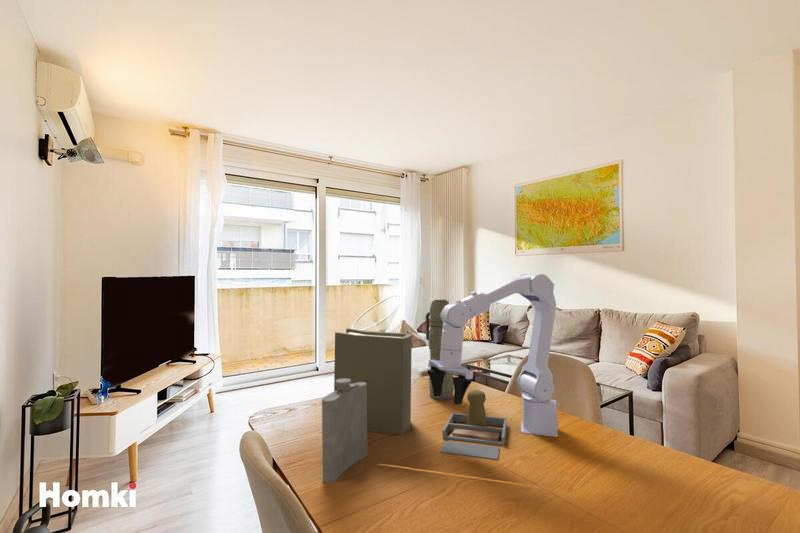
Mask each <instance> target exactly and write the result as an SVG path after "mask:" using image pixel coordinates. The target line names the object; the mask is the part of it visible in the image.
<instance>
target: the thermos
mask: <svg viewBox="0 0 800 533" xmlns="http://www.w3.org/2000/svg"><path fill="white" fill-rule="evenodd" d="M448 304H450V302H449V300H447V299H434V300H431V303H430V306H429V312H426V314H425V338H426V341H428V349H429V360H437V361H440V352H441V340H442V330H443V321H442V320H441V317H440V313H442V310H443V309H444V307H445V306H446V305H448ZM429 369H431V367H429ZM453 375H454V374H452V373H449V372H446V373H445V376H444V379H443V384H442V392H441V396H436V397H435V396H434V394H433V387H432V383H431V379H430V377H429V376H428V377H429V378H428V387H429V388H428V389H429V398H430V399H433V400H437V401H438V400H439V401H445V400H451V399H454V383H453V377H454V376H453Z"/></svg>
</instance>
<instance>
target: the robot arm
mask: <svg viewBox="0 0 800 533" xmlns="http://www.w3.org/2000/svg"><path fill="white" fill-rule="evenodd" d="M554 288H555V283H554V282H553V281H552V280H551V278H549V277H548V276H547V275H546V274H544V273H540V274H526V273H525V274H524V273H523V274H520V275H518V276H515V277H514V276H513V277H512V278H511V279H509V280H507V281H505V282H504V283H501V284H499V285H497V286H496V287H495V288H492V289H490V290H489V291H487V292H485V293H484V292H482V291H475V290H474V291H472V292H470V295H469V296H467V297H464V298H462V299H457V300H455V304H454V303H449V304H448V305H446V306H445V307H444V309H443V310H442V313H440V317H441V320H442V321H443V330H442V340H441V352H440V361H437V360H430V359H429V360H428V368H429V369H427V372H426V373H427V375H428V377H430V379H431V383H432V387H433V394H434V396H435V397H436V396H441V392H442V384H443V379H444V376H445V373H446V372H449V373H452V375H455V376H453V383H454V390H453V403H454V405H456V406H458V405H462V403H463V400H464V397H465V394H466V392H467V391H468V388H469V387H470V385H471V383H472V382H473V379H474V370H470V369H468V368H466V367H464V366H462V355H463V342H464V330H465V328H464V327H465V326H466V325H467V323H468V321H469V320H471V319H474V318H475V317H477V316H480V315H482V314H484V313H486V312H488V311H489V310H490V308H491V304H494V303H496V302H499V301H500V300H504V299H505V298H507V297H510V296H512V295H514V294H518V295H520V297H521V296H522V297H523V298H525V299H526V300H528V302H530V304H531V305H532V306H533V307H534V316H533V323H532V330H531V335H530V336H531V337H530V342H529V349H528V358H527V362H526V363H524V364H523V365H522V366H521V371H520V374H519V375H518V377H517V380H516V384H517V385H516V386H517V387H518V389H519V390H520V392H521V394H520V395H521V408H522V409H521V411H522V414H521V416H522V418H521V419H522V421H521V423H520V424H521V425H520V433H522V434H528V435H537V436H548V437H558V436H559V435H558V428H559V421H558V404H557V400H556V399H552V397H553V396H554V393H555V386H554V383H553V382H554V380H553V379H554V375H553V373H552V371H551V369H550V367H549V359H550V352H551V346H552V340H553V339H552V338H553V329H554V323H555V316H556V309H557V301H556V298H555V294H554ZM430 367H431V369H430Z"/></svg>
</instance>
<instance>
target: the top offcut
mask: <svg viewBox="0 0 800 533" xmlns="http://www.w3.org/2000/svg"><path fill="white" fill-rule="evenodd" d="M452 436H455V437H464V438H472V439H481V440H489V441H499V442H500V437H499V433H493V432H484V431H476V430H468V429H460V428H455V429H454V431H453V433H452Z"/></svg>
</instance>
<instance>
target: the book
mask: <svg viewBox="0 0 800 533" xmlns="http://www.w3.org/2000/svg"><path fill="white" fill-rule="evenodd" d="M345 331H346V332H340V331H335V332H334V370H333V371H334V372H333V373H334V374H333V375H334V376H333V378H334V380H333V392H334V391H336V390H337V389H336V388H337V385H336V380H337V379H343V378H346V379H351V384H353V383H357V382H365V383H366V384H367V432H374V433H375V432H376V433H383V434H388V435H394V436H398V435H403V434H405V433H407V432H408V431H409V429H410V428H411V426H412V424H411V423H412V422H411V420H412V416H411V415H412V414H411V413H412V406H411V405H412V398H411V397H412V338H413V336H412V335H413V334H412V333H410V332H409V333H407V332H405V333H404V332H389V331H388V332H386V331H384V332H383V331H369V330H368V331H367V330H361V329H356V328H350V327H347V328H345Z"/></svg>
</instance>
